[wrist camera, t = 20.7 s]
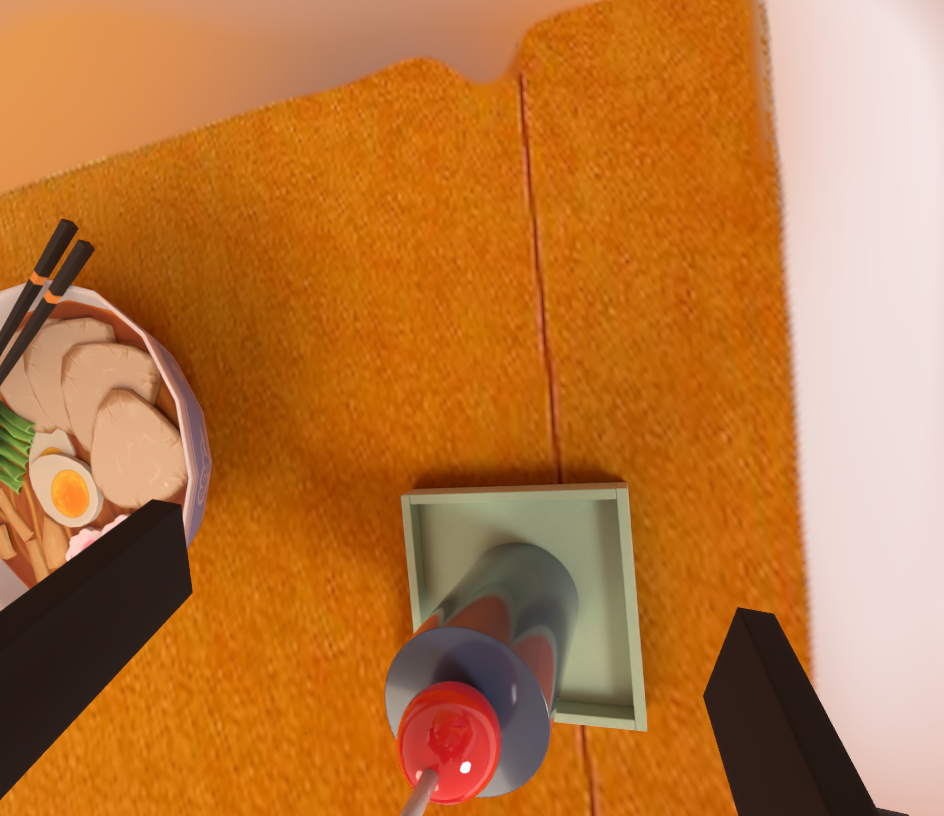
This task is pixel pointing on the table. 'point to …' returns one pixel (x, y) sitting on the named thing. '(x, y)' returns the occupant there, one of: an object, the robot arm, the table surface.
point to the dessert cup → (483, 679)
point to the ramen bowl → (85, 422)
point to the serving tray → (576, 546)
